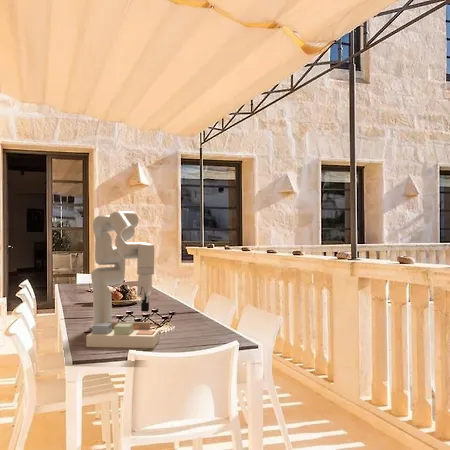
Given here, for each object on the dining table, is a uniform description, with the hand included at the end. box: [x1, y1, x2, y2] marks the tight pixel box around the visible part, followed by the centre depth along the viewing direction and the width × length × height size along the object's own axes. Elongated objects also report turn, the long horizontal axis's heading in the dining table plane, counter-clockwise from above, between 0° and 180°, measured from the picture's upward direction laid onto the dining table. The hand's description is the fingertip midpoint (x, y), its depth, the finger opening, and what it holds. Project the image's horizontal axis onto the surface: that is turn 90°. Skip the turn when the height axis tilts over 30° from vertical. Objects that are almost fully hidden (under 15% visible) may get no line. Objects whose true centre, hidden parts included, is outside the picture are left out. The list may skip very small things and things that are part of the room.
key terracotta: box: [136, 330, 155, 335], centre depth 230 cm, size 7×7×4 cm
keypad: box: [85, 321, 161, 349], centre depth 232 cm, size 30×17×8 cm, turn 86°
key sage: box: [114, 323, 133, 335], centre depth 231 cm, size 7×7×4 cm
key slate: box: [91, 323, 112, 334], centre depth 232 cm, size 7×7×4 cm
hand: (145, 311), depth 231 cm, fingers closed
